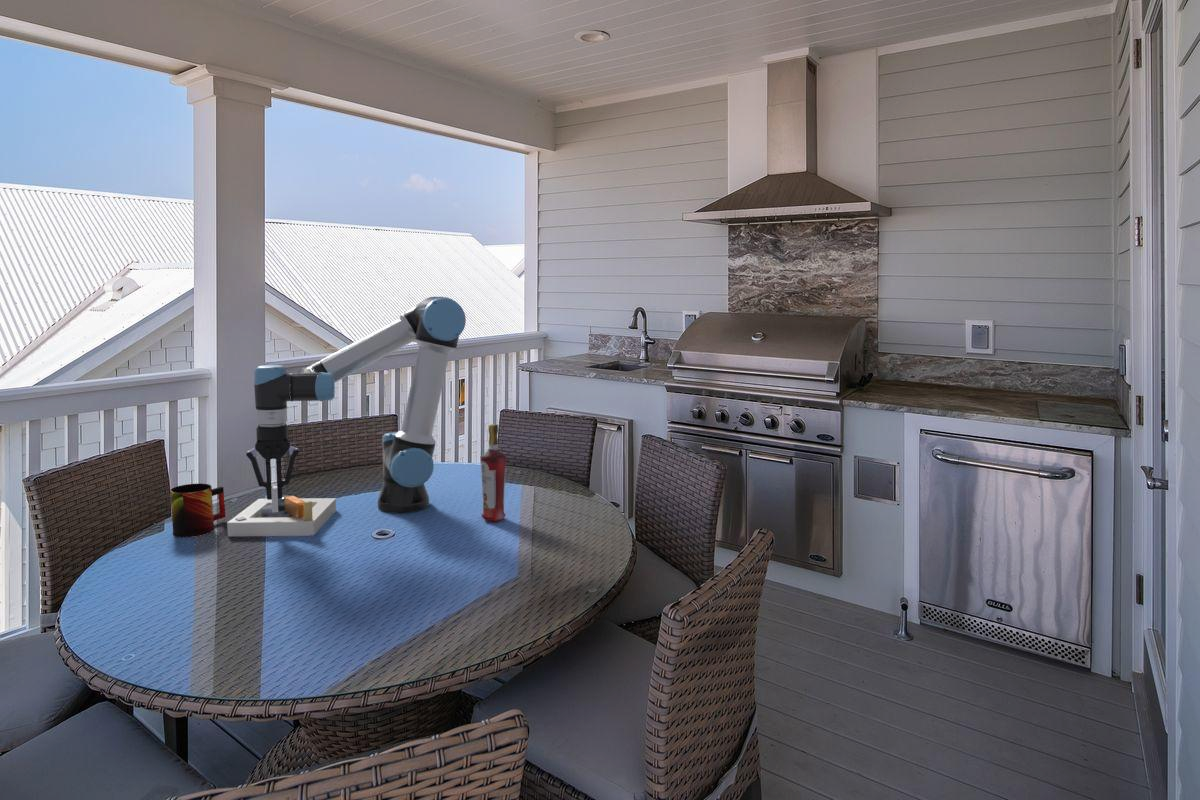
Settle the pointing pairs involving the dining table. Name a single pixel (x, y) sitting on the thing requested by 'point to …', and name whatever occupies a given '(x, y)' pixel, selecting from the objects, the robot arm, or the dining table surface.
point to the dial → (285, 508)
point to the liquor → (493, 479)
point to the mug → (195, 509)
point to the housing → (282, 519)
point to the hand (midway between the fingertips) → (275, 510)
